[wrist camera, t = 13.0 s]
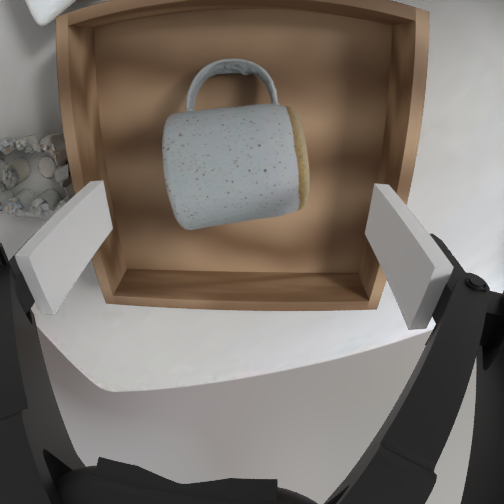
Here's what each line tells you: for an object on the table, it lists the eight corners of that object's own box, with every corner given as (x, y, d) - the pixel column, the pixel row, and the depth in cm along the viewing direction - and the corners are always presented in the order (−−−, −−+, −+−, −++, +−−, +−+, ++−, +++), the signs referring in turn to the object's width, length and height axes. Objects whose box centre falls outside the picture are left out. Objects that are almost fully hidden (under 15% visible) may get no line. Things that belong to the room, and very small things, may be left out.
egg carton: (78, 130, 23) (53, 142, 19) (82, 207, 27) (61, 228, 24) (-3, 131, 22) (-29, 144, 19) (5, 198, 26) (-18, 216, 23)
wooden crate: (89, 20, 17) (56, 16, 13) (398, 18, 17) (429, 11, 13) (123, 270, 31) (106, 303, 26) (363, 274, 30) (376, 309, 26)
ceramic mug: (300, 188, 25) (316, 237, 18) (197, 201, 25) (177, 253, 19) (285, 53, 19) (299, 43, 12) (171, 71, 20) (132, 73, 13)
